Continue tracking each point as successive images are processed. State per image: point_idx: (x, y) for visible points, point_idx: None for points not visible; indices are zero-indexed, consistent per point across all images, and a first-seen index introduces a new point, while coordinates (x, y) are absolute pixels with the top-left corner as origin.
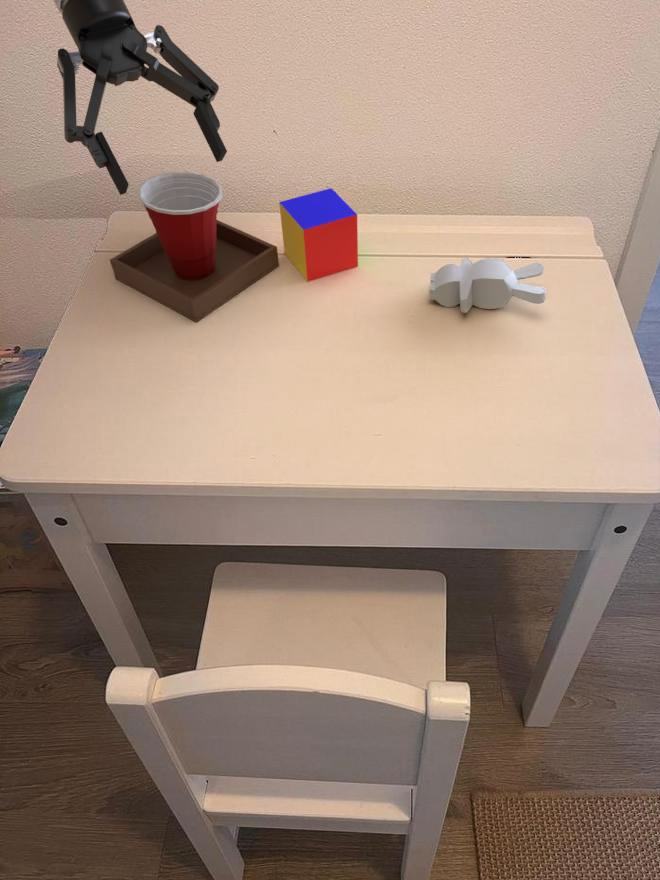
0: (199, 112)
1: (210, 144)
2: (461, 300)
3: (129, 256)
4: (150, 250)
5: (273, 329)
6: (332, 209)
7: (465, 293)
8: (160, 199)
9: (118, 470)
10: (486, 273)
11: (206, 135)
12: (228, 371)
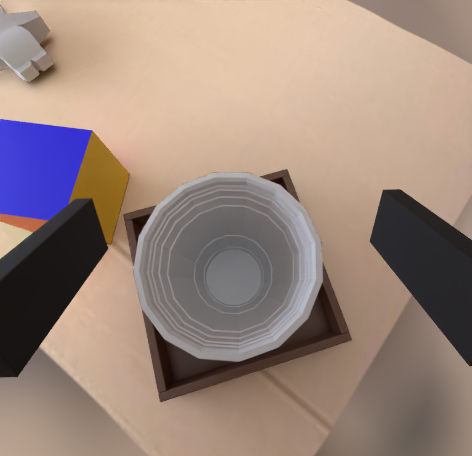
0: (8, 306)
1: (84, 264)
2: (40, 16)
3: (315, 340)
4: (274, 351)
5: (215, 125)
6: (16, 151)
7: (28, 14)
8: (250, 330)
9: (426, 49)
10: None
11: (68, 280)
12: (288, 97)
